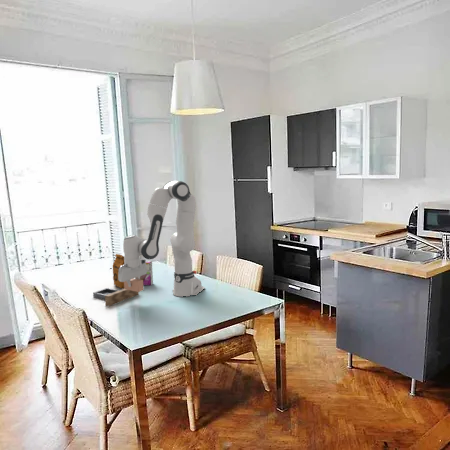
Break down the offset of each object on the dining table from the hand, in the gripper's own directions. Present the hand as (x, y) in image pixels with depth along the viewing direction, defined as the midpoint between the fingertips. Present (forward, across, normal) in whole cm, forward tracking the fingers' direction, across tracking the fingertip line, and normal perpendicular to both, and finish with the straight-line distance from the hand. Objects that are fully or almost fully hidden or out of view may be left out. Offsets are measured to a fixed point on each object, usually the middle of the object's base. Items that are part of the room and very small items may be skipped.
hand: (133, 285), depth 231 cm
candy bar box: (+11, +30, +21) cm, 38 cm away
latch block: (+3, 0, 0) cm, 3 cm away
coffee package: (+11, +20, +32) cm, 39 cm away
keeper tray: (+11, 0, +22) cm, 25 cm away
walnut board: (+11, 0, +10) cm, 15 cm away
